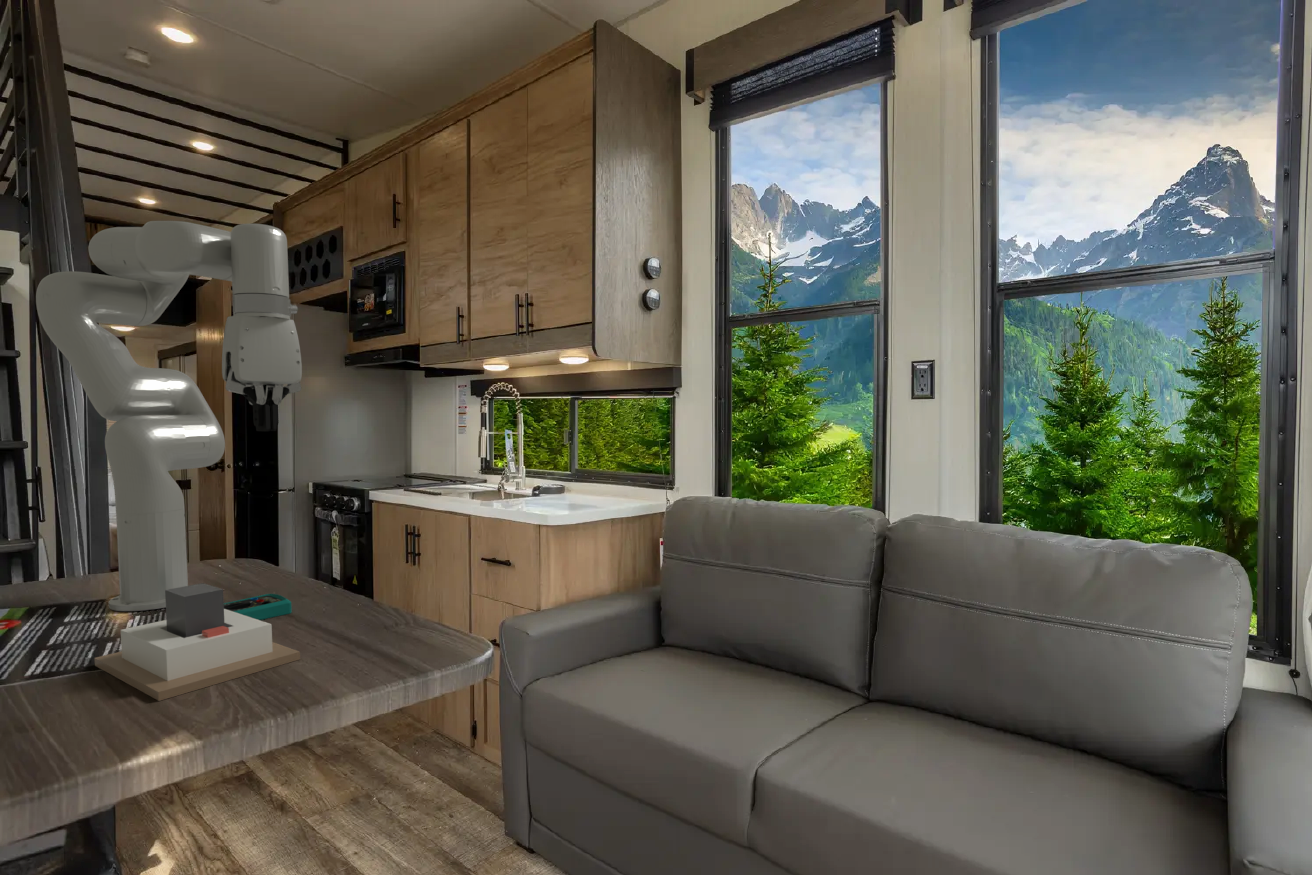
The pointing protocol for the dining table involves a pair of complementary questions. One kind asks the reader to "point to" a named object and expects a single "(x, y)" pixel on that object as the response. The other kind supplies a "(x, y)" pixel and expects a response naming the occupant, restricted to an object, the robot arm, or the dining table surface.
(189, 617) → the plug
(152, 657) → the socket
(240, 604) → the digital multimeter
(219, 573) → the dining table surface
